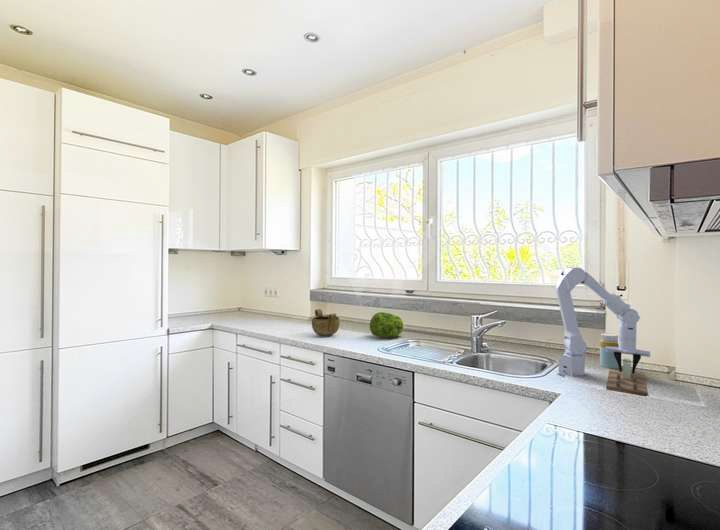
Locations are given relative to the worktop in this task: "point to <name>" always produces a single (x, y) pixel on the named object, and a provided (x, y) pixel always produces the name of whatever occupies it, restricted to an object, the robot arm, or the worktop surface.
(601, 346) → the bottle
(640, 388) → the hinge board
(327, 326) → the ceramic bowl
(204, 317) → the worktop surface
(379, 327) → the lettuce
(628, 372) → the door panel
